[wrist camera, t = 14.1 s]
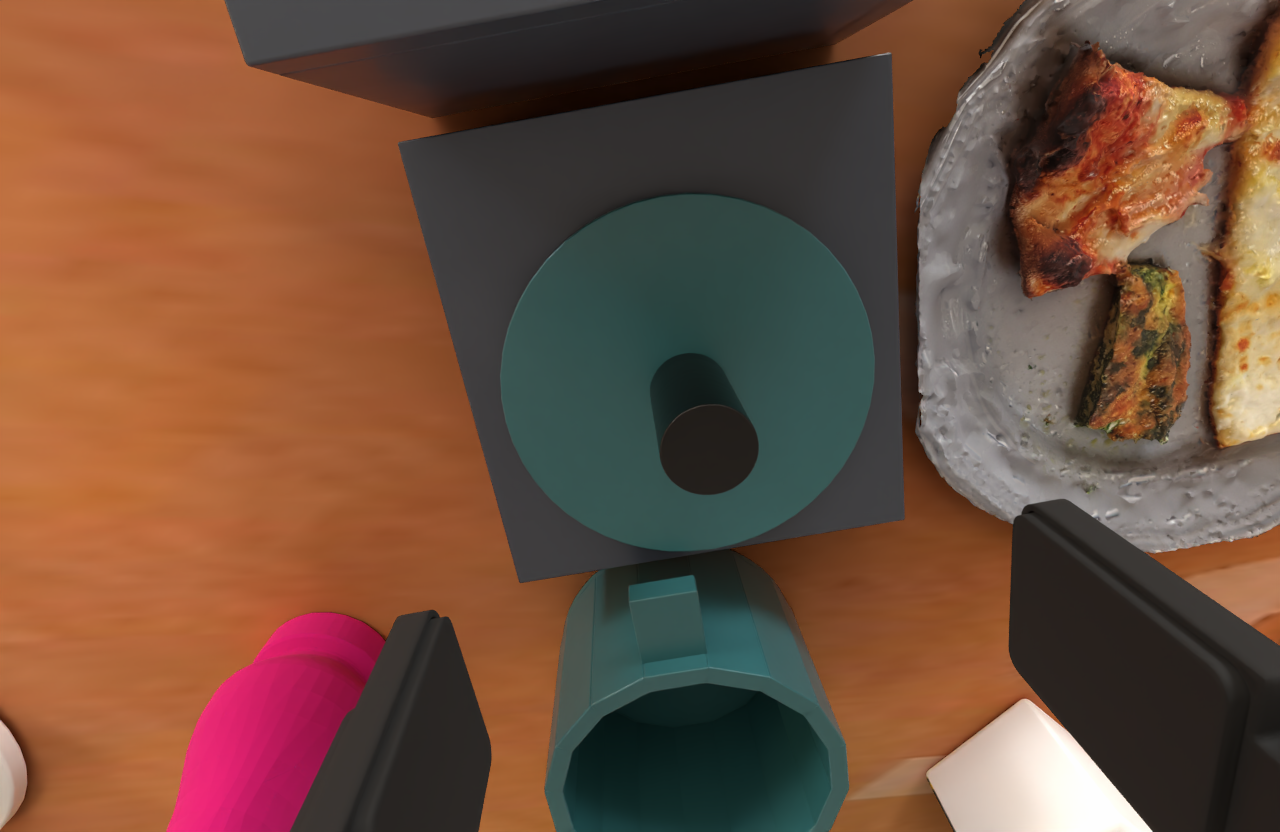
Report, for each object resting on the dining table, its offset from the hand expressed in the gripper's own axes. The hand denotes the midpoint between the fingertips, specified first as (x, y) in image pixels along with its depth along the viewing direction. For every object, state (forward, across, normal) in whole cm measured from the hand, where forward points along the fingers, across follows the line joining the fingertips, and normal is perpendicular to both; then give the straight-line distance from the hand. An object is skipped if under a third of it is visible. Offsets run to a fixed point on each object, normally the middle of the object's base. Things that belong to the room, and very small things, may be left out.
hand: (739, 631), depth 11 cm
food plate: (+18, -22, 0) cm, 28 cm away
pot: (+18, +1, +15) cm, 23 cm away
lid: (+12, -1, 0) cm, 12 cm away
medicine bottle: (+18, -16, +27) cm, 36 cm away
